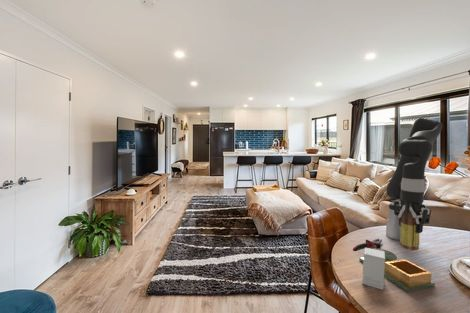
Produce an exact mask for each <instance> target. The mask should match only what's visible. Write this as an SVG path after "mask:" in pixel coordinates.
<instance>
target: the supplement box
mask: <svg viewBox="0 0 470 313" xmlns="http://www.w3.org/2000/svg"><path fill="white" fill-rule="evenodd" d="M363 257H364V261H363V263H362V264H363V265H362V278H361V279H362V280H361V281H362V285H366V286H368V287H372V288H374V289H379V290H382V291H383V290H384V284H385V282H384V281H385V277H384V269H385V252H384V251H380V250H375V249H372V248H370V247H369V248H368V247H364V252H363Z"/></svg>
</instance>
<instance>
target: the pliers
mask: <svg viewBox="0 0 470 313" xmlns="http://www.w3.org/2000/svg"><path fill="white" fill-rule="evenodd" d="M382 242H383V239H382V238H381V239H380V238H375V239H373V240H369V239H365V242H364V243H359V244H357V245H355V246H354V247H353V248H352V251H355V252H356V251H358V250H360V249H362V248H367V247H372V248H371V249H373V248H377V249H382V245H381V244H382Z"/></svg>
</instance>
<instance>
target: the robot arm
mask: <svg viewBox="0 0 470 313" xmlns="http://www.w3.org/2000/svg"><path fill="white" fill-rule="evenodd" d="M442 130H443V123H442V122H440V121H438V120H434V119H430V118H425V117H418V118H417V119H415V121H414V122H413V124H412V127H411V129H410V132H409V135H408V137H406V138H405V139H402V140H401V141H400V143H399V144H398V148H397V149H398V150H397V151H398V153H399V155H400V159H399V160H398V162H397V165H396V168H395V171H394V172H393V175H392V176H391V178H390V180H389V182H388V183H387V186H386V188H385V189H386V195H387V197H389V198H392V199H396V200H394V201H392V202H389V204H388V216H387V218H388V219H387V220H386V228H385V229H386V230H385V236H387V237H388V238H390V239H392V240H396V241H400V238H401V216H402V214H403V212H404V210H405V203H404V201H406V202H412V203H414V205H413V207H410V211H411V213H412V215H413V218H415V221H416V223H417V224H416V231H415V232H416V233H419V234H422V233H423V230H424V225H426V224H427V225H428V224H430V220H431V214H432V209H431V208H425V207H424V206H423V203H424V200H425V199H424V198H425V186H426V185H425V172H426V167H427V166H426V165H427V163H428V160H429V157H430V156H431V154H432V150H433V145H432V142H433V141H434V140H436V139H437V138H438V137H439V136H440V134H441V132H442ZM417 214H418V216H417Z"/></svg>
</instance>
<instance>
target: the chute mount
mask: <svg viewBox="0 0 470 313" xmlns="http://www.w3.org/2000/svg"><path fill="white" fill-rule="evenodd" d="M373 249H375V250H380V251H384V252H385V269H384V279H387V280H389V281H390V282H391V283H393V284H394V285H396V286H397V287H400V288H401V289H402V290H404V291H405V292H407V293H408V292H412V291H419V290H423V289H428V288H432V287H433V288H434V287H436V283H435V282H434V281H432V273H431V271H428V270H427V269H424V268H423V267H420V266H419V265H417V264H415V263H413V262H411V261H409V260H407V259H398V260H397V258H398V257H397V254H395V253H393V252H392V251H389V250H386V249H383V248H381V249H377V248H373ZM363 261H364V256H362V257H359V262H361V263H362V264H363Z"/></svg>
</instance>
